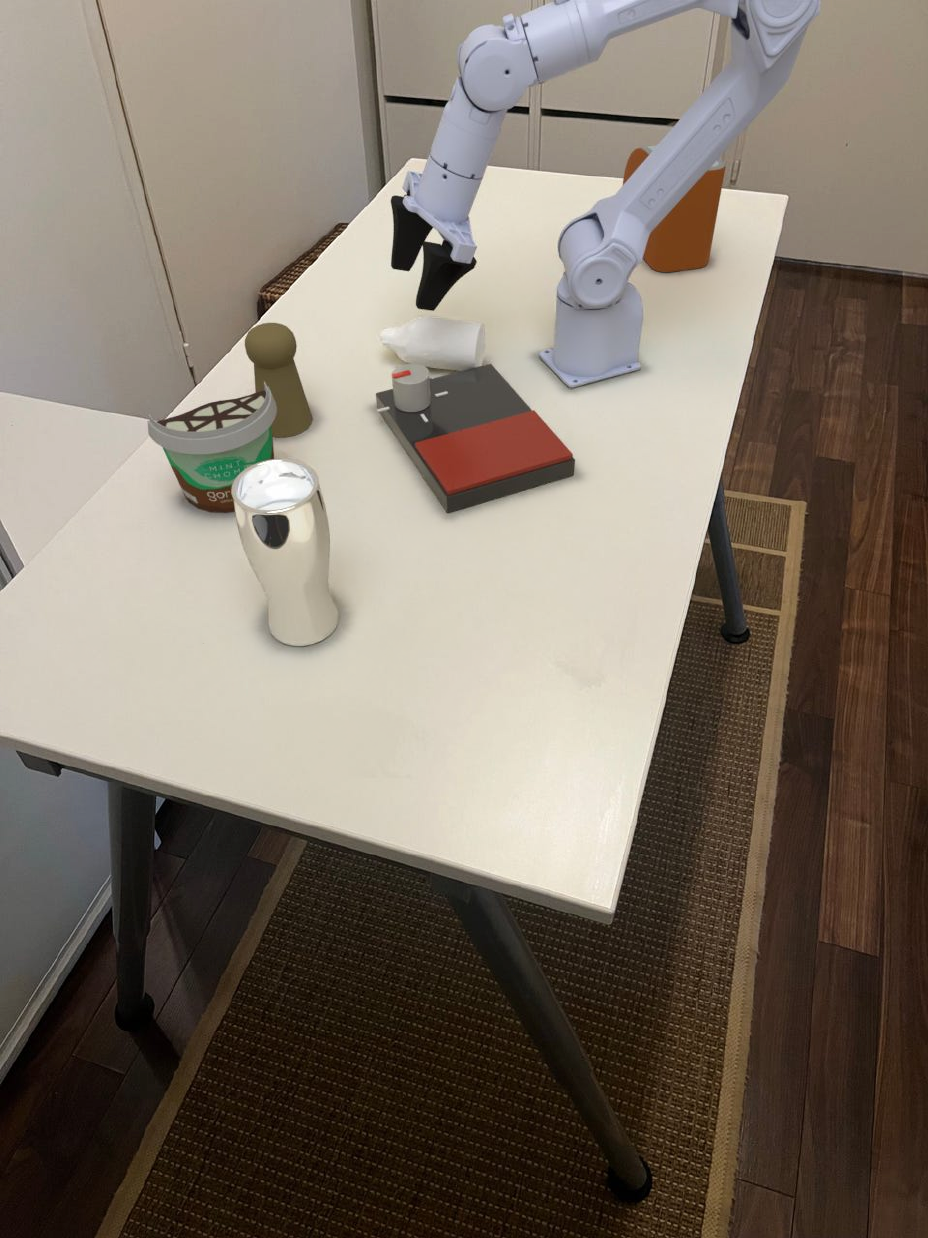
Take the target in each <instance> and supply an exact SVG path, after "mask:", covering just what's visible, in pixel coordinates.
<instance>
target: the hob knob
mask: <svg viewBox="0 0 928 1238" xmlns="http://www.w3.org/2000/svg"><path fill="white" fill-rule="evenodd" d="M430 377H431V376H430V371H429V369H428V367H424V366H422V365H419V364H409V363H405V364H401V365H399V366H397V367H395V368H394V369H393V370H392V372H391V383H392V384H391V385H392V389H393V397H394V405H395V406H396V408H398V409H399V410H401V411H404V412H418V411H422V410H424V409H426V408H427V407H428V406H429V405H430V403H431V392H430V379H431V378H430Z"/></svg>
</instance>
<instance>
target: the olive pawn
mask: <svg viewBox="0 0 928 1238" xmlns="http://www.w3.org/2000/svg"><path fill="white" fill-rule="evenodd" d="M297 345H298V344H297V340H296V337H295V334H294V332H293V331H292V330H291V329H290V328H289V327H288V325H285V324H283V323H278V322H265V323H260V324H257V325H255V326H253V327H252V328H251V329H249V331H247V333H246V336H245V338H244V349H245V353H246V355H247V357H248V359H249V360H250V362H252V363H253V373H254V375H253V376H254V389H255V390H254V391H255V392H254V393H256V392H261V391H264V381H265V383H266V385H267V387H269V389H270V391H271V393H272V395H273V398H274V400H275V402H276V406H277V412H276V416H275V419H274V421H273V423H272V424H271V426H272V438H290V437H294V436H297V435H300V434H302V433H304V432H305V431H306V430H308V429H309V428H310V427H311V426H312V423H313V420H314V417H313V415H312V412H311V409H310V405H309V402H308V399H307V396H306V393H305V390H304V386H303V384H302V381H301V378H300V375H299V371H298V368H297V365H296V362H295V359H294V358H295V356H296V354H297V347H298V346H297Z"/></svg>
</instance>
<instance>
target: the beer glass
mask: <svg viewBox="0 0 928 1238" xmlns="http://www.w3.org/2000/svg"><path fill="white" fill-rule="evenodd" d="M231 493H232V497H233V501H234V508H235V512H234V515H235V520H236V526H237V531H238V535H239V538H240V542H241V545H242V549H243V551H244V554H245V556H246V558H247V561H248V563H249V565H250V566H251V569H252V571H253V573H254V575H255V576H256V579H257V581H258V582H259V584H260V586H261V588H262V591H263V592H264V594H265V597H266V601H267V609H268V610H267V623H268V629H269V631H270V633H271V635H272V636H273V637H274V638H275V639H276V640H277V641H278V642H281V643H282V644H285V645H288V646H291V647H292V646H293V647H305V646H311V645H314V644H317V643H320V642H321V641H323V640H325V639H327V638H328V637H329V636H330V635H331V634H333V632H334V631H335V630H336V628H337V626H338V623H339V620H340V619H339V618H340V614H339V609H338V607H337V605H336V603H335V600H334V598H333V595H332V593H331V589H330V583H329V573H330V558H331V557H330V556H331V532H330V531H331V530H330V524H329V517H328V513H327V508H326V503H325V500H324V496H323V493H322V490H321V486H320V482H319V475H318V474H317V472H316V471H315V470H314V468H313V467H312V466H310V465H309V464H307V463H305V462H303V461H300V460H298V459H291V458H274V459H271V460H266V461H262V462H259V463H256V464H254V465H252V466H250V467H248V468H246V469H245V470H244V471H242V472H241V473H240V474H239V475H238V476H237V477H236V479H235V480H234V482H233V484H232V489H231Z"/></svg>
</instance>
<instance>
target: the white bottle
mask: <svg viewBox="0 0 928 1238" xmlns="http://www.w3.org/2000/svg"><path fill="white" fill-rule="evenodd" d="M486 333H487V332H486V326H485V323H483V322H477V321H476V322H474V321H470V320H469V321H467V320H462V319H461V320H459V319H452V318H444V317H439V316H429V315H422V316H419V317H415V318H414V319H412V320H410V321H408V322H405V323H404V324H402V325H398V326H392V327H387V328H384V329H382V330H380V331H379V333H378V337H379V338H380V343H381V345H382V346H384V347H386V348H388V349H390V350H391V351H392V352H394V353H395V354H396V355H397V356H398V357H399V358H400V359H401V360H402V361H404V362H406V364H419V365H422V366H424V367H426V368H433V369H443V370H449V371H450V370H451V371H457V372H460V371H464V370H468V369H472V368H476V367H479V366H483V362H484V358H485V352H486V335H487V334H486Z"/></svg>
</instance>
